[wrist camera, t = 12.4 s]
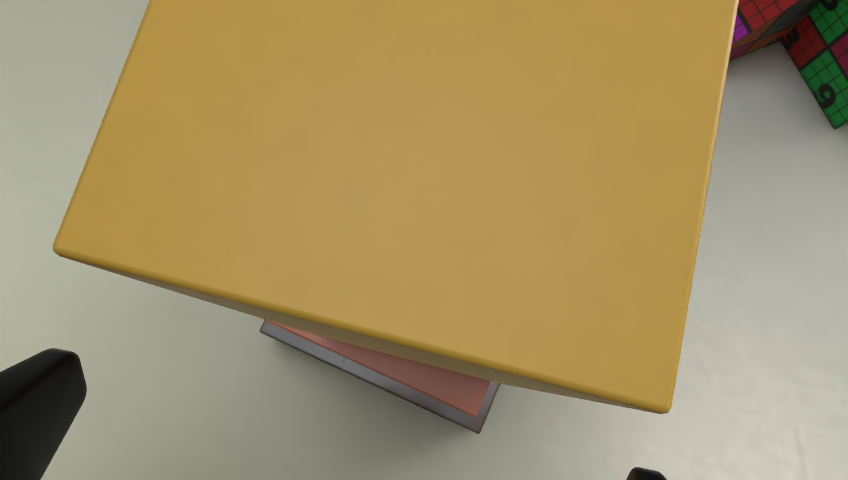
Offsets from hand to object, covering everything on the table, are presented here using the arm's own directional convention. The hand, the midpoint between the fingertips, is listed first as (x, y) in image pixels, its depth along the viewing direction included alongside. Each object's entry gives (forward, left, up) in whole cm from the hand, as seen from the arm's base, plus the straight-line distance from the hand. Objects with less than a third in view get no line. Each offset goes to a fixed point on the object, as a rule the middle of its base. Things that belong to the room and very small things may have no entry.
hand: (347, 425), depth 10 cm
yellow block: (+3, +3, -8) cm, 9 cm away
